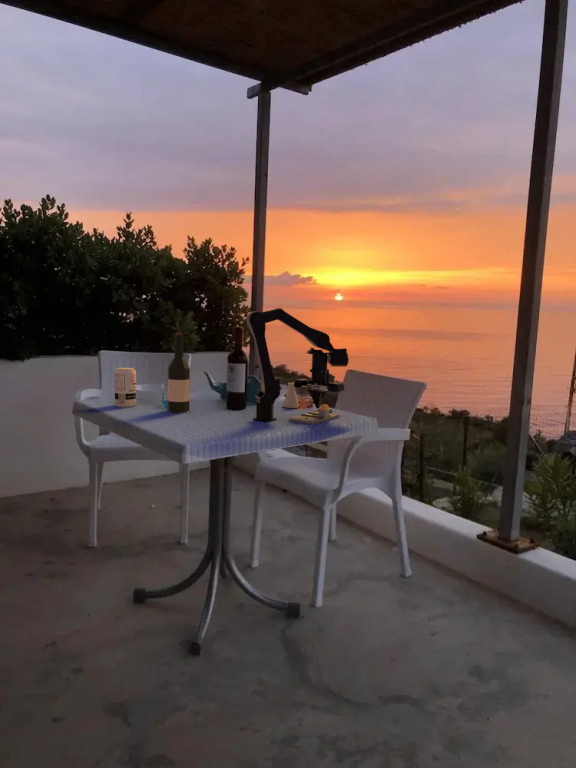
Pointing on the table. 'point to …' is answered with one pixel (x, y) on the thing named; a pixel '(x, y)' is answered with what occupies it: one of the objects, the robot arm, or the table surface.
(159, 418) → the table surface
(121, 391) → the supplement can
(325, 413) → the toggle
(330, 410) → the cables
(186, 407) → the wine bottle
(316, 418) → the panel
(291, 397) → the flask
